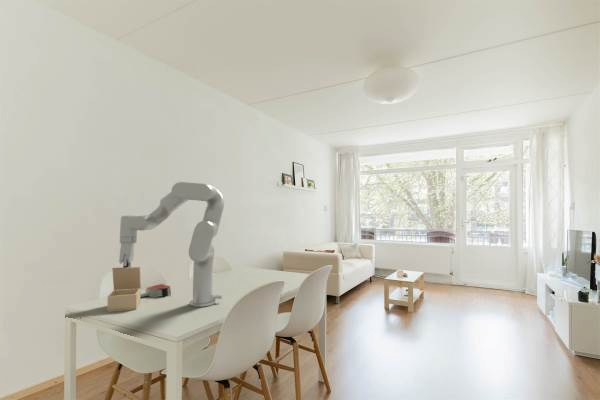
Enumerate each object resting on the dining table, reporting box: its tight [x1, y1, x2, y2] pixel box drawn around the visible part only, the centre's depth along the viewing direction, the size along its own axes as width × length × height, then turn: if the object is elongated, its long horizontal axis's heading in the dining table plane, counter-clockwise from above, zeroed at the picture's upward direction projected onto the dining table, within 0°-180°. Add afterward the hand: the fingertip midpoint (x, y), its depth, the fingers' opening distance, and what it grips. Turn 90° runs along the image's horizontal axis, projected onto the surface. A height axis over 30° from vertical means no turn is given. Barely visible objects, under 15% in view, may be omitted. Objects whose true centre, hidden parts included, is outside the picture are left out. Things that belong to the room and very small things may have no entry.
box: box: [106, 288, 141, 313], centre depth 155 cm, size 12×12×7 cm
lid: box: [112, 266, 142, 291], centre depth 159 cm, size 12×12×1 cm
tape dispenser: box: [140, 283, 172, 298], centre depth 176 cm, size 18×5×20 cm
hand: (126, 276), depth 160 cm, fingers closed
